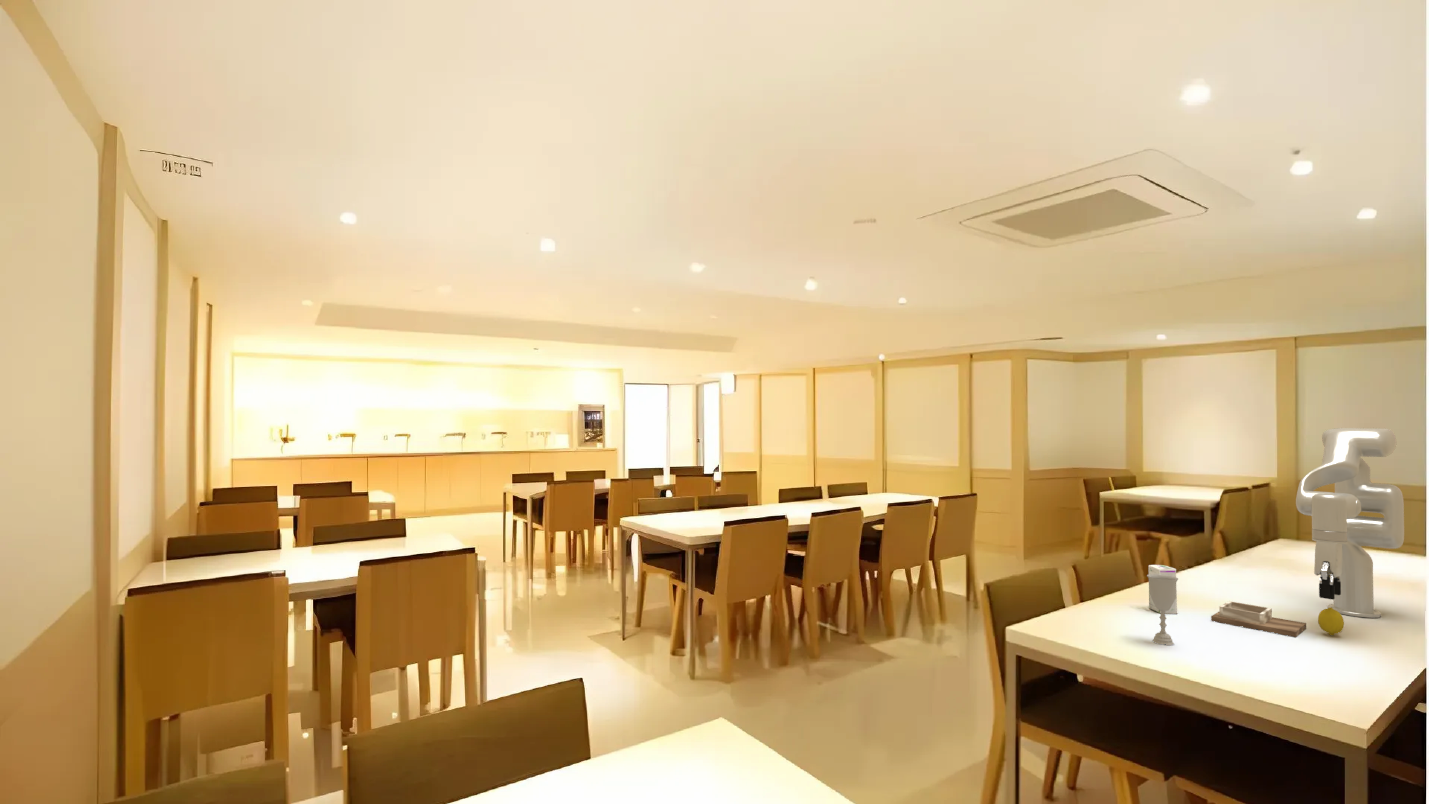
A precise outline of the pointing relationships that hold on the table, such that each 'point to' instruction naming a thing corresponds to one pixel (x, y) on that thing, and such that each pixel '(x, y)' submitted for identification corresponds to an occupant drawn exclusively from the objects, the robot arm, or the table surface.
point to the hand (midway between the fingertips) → (1330, 596)
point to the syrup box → (1163, 571)
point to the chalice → (1162, 601)
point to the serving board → (1256, 619)
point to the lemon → (1331, 621)
